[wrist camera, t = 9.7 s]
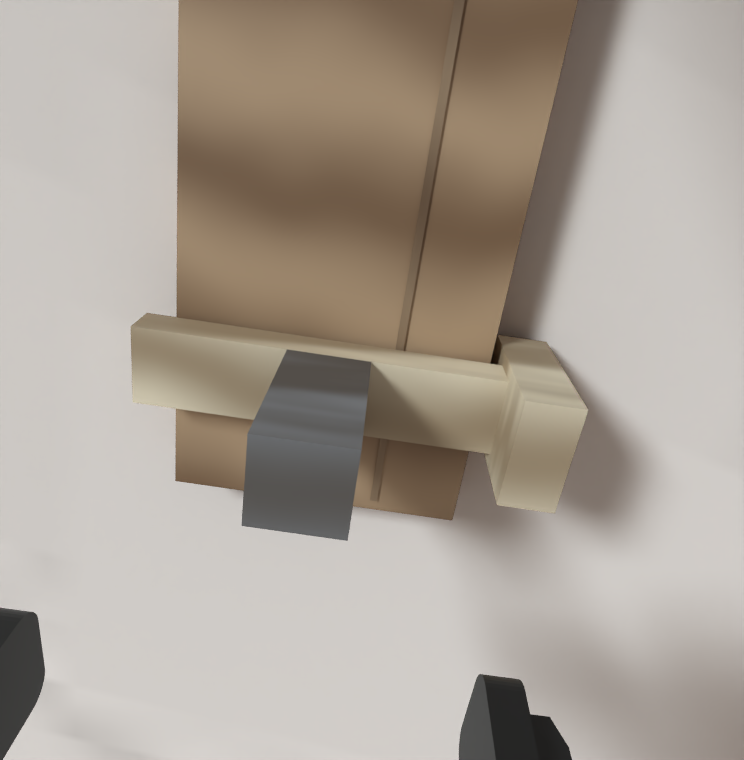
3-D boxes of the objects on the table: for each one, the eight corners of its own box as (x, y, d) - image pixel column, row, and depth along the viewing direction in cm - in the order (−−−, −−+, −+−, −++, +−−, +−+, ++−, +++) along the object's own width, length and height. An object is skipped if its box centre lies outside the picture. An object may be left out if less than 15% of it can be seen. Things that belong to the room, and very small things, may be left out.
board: (204, -330, 17) (179, -385, 15) (624, -260, 17) (653, -305, 15) (190, 456, 28) (174, 482, 26) (448, 493, 28) (452, 521, 26)
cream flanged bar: (165, 285, 24) (34, 385, 15) (546, 342, 24) (626, 471, 16) (166, 376, 26) (47, 512, 17) (522, 428, 26) (582, 588, 17)
